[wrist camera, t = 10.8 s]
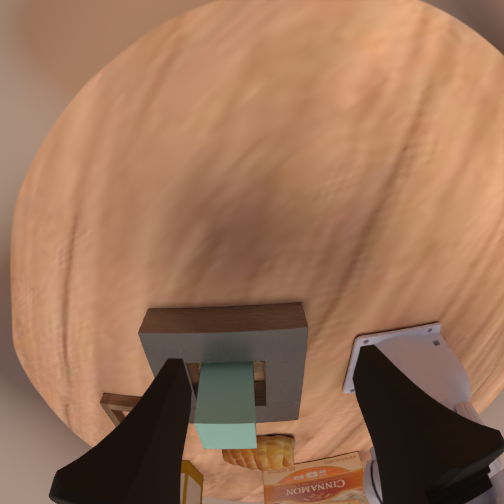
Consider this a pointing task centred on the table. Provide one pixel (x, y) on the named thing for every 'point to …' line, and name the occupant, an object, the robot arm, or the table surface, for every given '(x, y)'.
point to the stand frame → (117, 406)
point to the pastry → (264, 454)
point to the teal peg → (226, 406)
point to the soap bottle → (190, 484)
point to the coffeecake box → (317, 482)
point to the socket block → (235, 349)
